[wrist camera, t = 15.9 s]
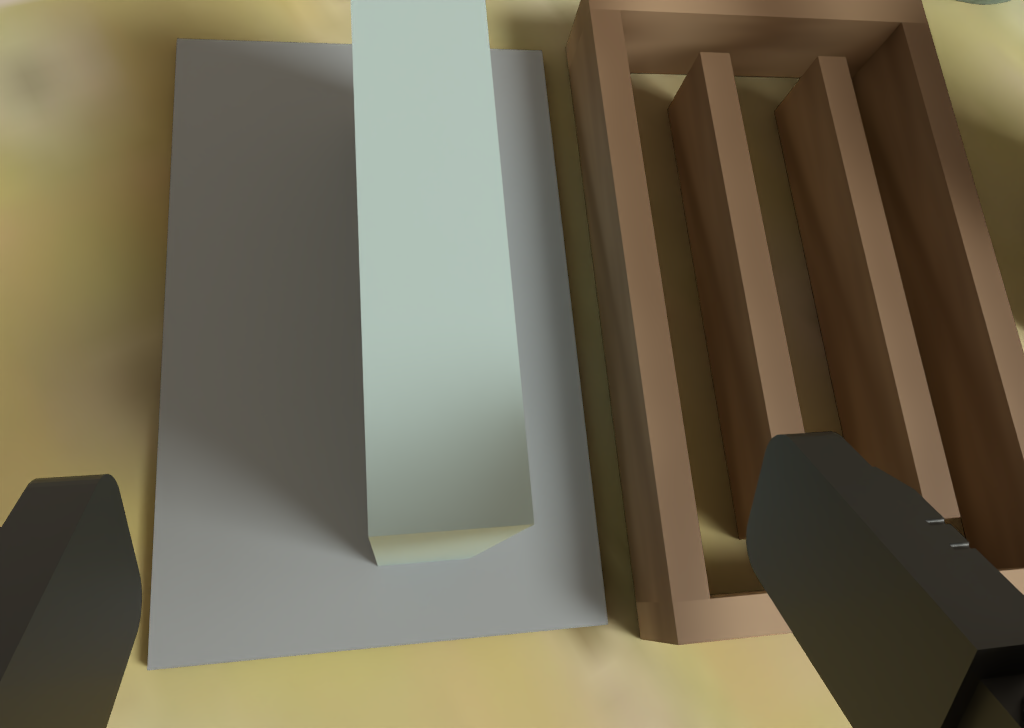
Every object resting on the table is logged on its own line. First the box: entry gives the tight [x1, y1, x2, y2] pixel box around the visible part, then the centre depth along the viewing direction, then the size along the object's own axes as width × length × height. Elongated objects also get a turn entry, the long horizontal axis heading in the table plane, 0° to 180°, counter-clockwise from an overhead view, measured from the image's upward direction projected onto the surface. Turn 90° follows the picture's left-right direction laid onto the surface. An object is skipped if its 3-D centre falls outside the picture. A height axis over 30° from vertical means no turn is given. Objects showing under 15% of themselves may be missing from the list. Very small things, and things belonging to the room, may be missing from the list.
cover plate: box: [351, 0, 534, 566], centre depth 18 cm, size 2×14×10 cm, turn 5°
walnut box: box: [566, 0, 1024, 645], centre depth 24 cm, size 12×20×3 cm, turn 5°
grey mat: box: [147, 39, 608, 670], centre depth 23 cm, size 12×19×1 cm, turn 5°
